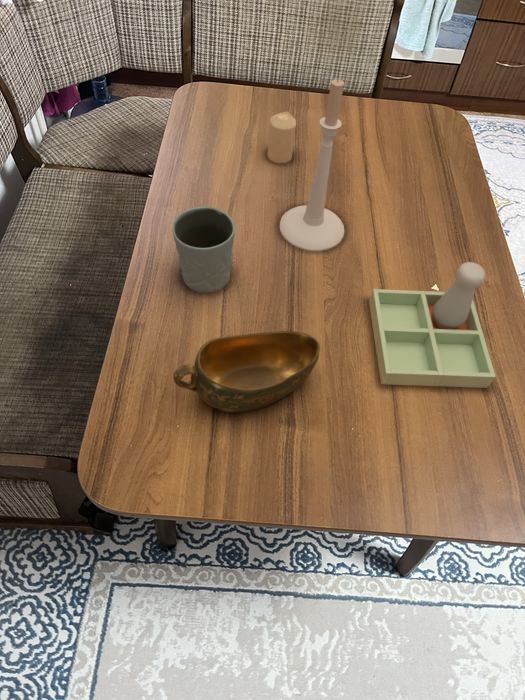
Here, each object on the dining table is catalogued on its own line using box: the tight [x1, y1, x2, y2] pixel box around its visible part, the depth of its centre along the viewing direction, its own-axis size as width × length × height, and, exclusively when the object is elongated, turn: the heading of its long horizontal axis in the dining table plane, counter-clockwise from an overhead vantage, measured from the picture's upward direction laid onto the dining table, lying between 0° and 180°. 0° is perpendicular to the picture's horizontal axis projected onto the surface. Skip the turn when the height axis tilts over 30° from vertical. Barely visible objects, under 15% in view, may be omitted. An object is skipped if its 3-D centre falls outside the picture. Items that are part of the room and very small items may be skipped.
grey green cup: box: [171, 205, 236, 294], centre depth 91 cm, size 10×10×12 cm
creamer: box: [173, 330, 321, 414], centre depth 79 cm, size 13×20×10 cm, turn 82°
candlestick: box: [279, 78, 345, 252], centre depth 93 cm, size 13×13×30 cm
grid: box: [368, 288, 497, 389], centre depth 89 cm, size 17×17×4 cm
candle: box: [267, 111, 297, 164], centre depth 114 cm, size 6×6×10 cm
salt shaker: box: [433, 261, 487, 330], centre depth 87 cm, size 6×6×13 cm
